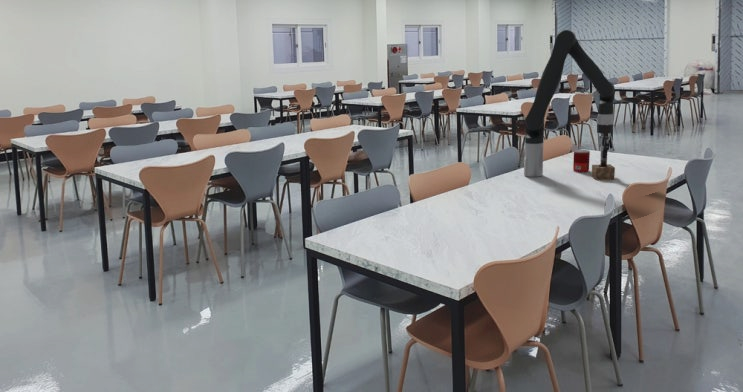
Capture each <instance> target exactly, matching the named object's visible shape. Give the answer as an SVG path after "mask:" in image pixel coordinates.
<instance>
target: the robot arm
mask: <svg viewBox="0 0 743 392" xmlns="http://www.w3.org/2000/svg"><path fill="white" fill-rule="evenodd" d="M568 55H569V56H570V57H571V58H572V59H573V60H574V62H575V63H576V65H577V66H578V68H579V70H580V71H581V72H582V74H584V76H585V77H586V78H587V80H589V82H590V83H591V85H593V88H594V89H595V90H596V91H597V93H598V94H599V102H598V107H597V108H598V109H597V118H596V132H597V134H600V136H598V141H599V142H598V143H599V149H600V150H601V146H602V150H603V151H602V158H607V159H608V151H610V145H611V139H610V135H609V134H613V133H614V99H615V90H616V89H615V86H614V84H613V83H612V82H610V81H609V80H608V78H606V77H605V75H604V73H603V71H602V70H601V68H599V66H598V65H597V64H596V62H594V60H593V59H592V58H591V57H590V56H589V55H588V54H587V52H585V50H584V49H583V47H582V46H581V44H580V43H579V41H578V39H577V37H576V34H575V33H574V32H573V31H571V30H569V29H563V30H560V32H558V33H557V34H556V36H555V39H554V44H553V48H552V51H551V54H550V57H549V59H548V61H547V63H546V65H545V68H544V70H543V72H542V75H541V77H540V80H539V82H538V85H537V89H536V92H535V96H534V101H533V103H532V105H531V107H530V109H529V111H528V113H527V115H526V116H525V119H524V123H525V134H524V135H525V137H524V158H523V175H524V177H530V178H533V177H534V178H536V177H537V178H538V177H542V176H543V175H544V174H543V173H544V139H545V117H546V114H547V110H548V106H549V105H550V103H551V101H552V99H553V97H554V96H555V93H556V91H557V89H558V86H559V84H560V81H561V78H562V75H563V72H564V67H565V62H566V60H567V57H568ZM605 147H607V148H605Z"/></svg>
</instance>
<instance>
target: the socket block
mask: <svg viewBox="0 0 743 392" xmlns="http://www.w3.org/2000/svg"><path fill="white" fill-rule="evenodd" d="M615 171H616V167H615V166H613V165H612V164H608V163H607V166H600V164H591V177H592V178H593V179H594V180H596V181H597V180H598V181H600V180H601V181H605V180H606V181H611V180H613V181H614V180H615V176H616V175H615V174H616V172H615Z"/></svg>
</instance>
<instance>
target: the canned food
mask: <svg viewBox="0 0 743 392" xmlns="http://www.w3.org/2000/svg"><path fill="white" fill-rule="evenodd" d="M590 155H591V153H590V150H588V149H575V150H573V166H572V167H573V168H572V169H573V172H574V173H575V172H576V173H587V172H589V170H590Z"/></svg>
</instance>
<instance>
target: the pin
mask: <svg viewBox="0 0 743 392" xmlns="http://www.w3.org/2000/svg"><path fill="white" fill-rule="evenodd" d="M605 148H607V147H605ZM602 151H603V150H602V146H601V149H600V164H599V165H600V166H607V164H608V157H607V158H602Z"/></svg>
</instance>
